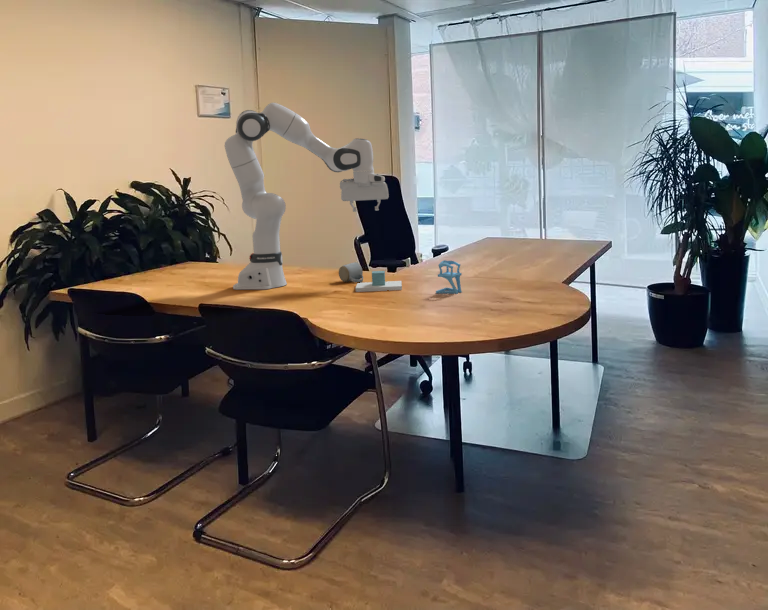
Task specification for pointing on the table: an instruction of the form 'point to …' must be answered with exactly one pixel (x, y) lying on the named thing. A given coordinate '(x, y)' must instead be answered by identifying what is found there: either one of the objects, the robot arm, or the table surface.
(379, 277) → the teal block
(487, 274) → the table surface
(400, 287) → the grey board
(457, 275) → the chair
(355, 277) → the ceramic mug
